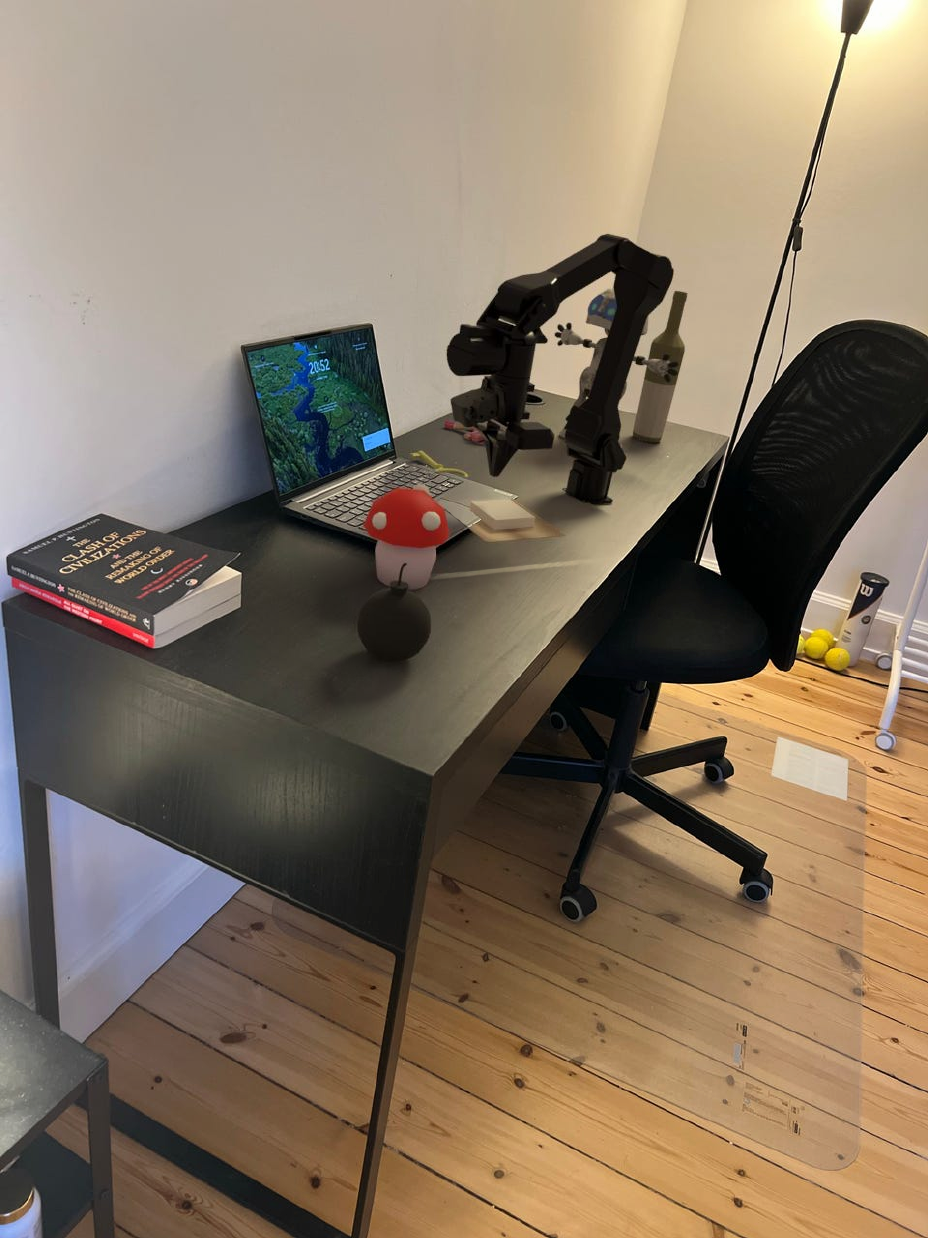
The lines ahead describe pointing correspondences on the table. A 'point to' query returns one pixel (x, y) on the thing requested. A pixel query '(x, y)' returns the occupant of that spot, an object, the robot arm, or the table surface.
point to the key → (434, 463)
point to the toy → (459, 426)
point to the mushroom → (406, 534)
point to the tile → (502, 514)
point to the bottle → (655, 387)
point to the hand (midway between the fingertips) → (494, 475)
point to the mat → (516, 530)
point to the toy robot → (602, 316)
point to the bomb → (394, 623)
